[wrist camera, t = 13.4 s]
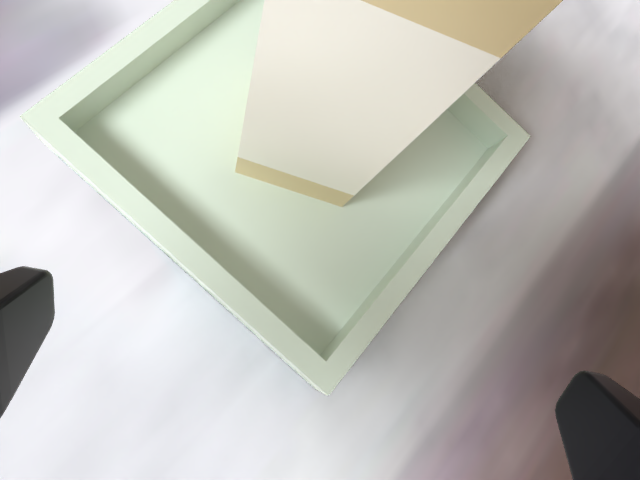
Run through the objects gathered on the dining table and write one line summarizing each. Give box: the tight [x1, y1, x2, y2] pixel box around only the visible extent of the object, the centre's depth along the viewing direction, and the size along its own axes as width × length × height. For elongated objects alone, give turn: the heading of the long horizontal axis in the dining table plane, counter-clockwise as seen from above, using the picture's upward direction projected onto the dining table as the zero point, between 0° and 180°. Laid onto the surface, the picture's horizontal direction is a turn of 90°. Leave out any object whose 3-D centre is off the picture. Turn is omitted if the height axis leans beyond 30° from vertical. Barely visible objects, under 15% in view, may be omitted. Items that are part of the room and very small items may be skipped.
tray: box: [20, 0, 531, 396], centre depth 18 cm, size 14×14×2 cm
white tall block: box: [235, 0, 563, 207], centre depth 13 cm, size 4×4×12 cm
